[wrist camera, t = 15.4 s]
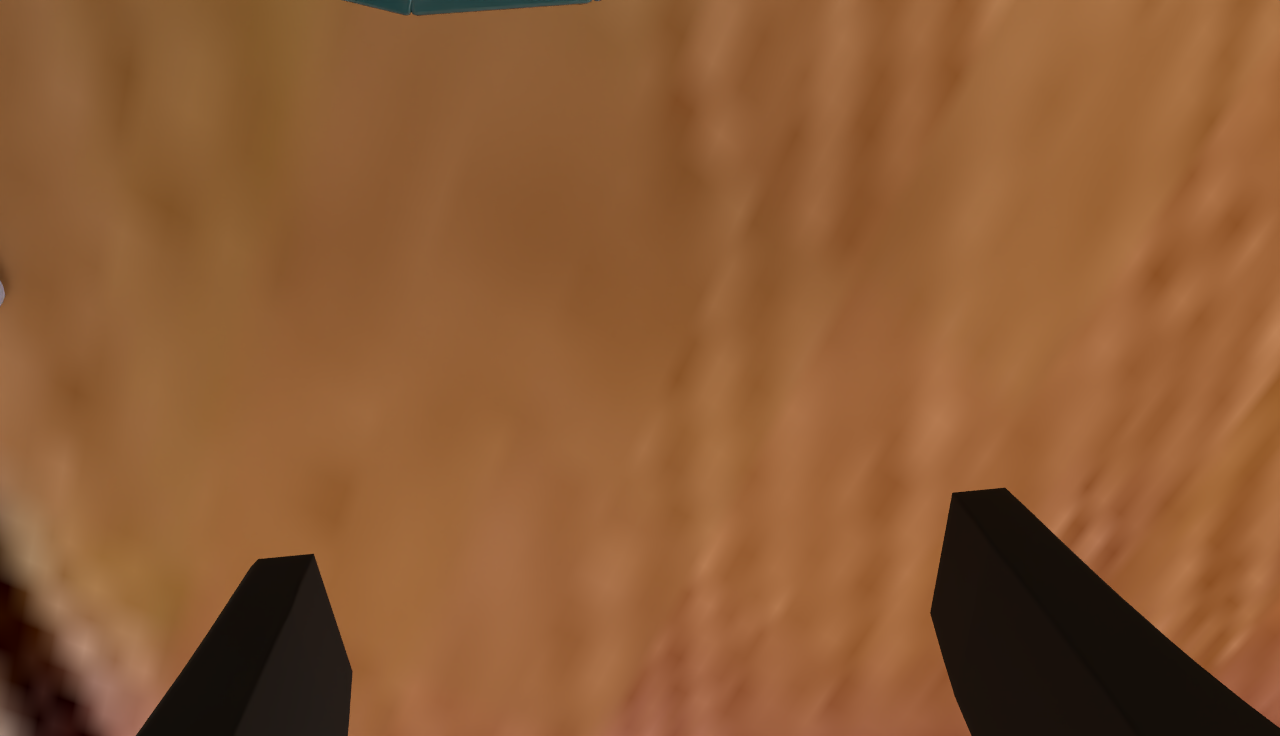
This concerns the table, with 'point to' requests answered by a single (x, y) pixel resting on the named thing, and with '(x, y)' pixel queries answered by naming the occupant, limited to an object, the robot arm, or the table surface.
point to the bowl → (458, 5)
